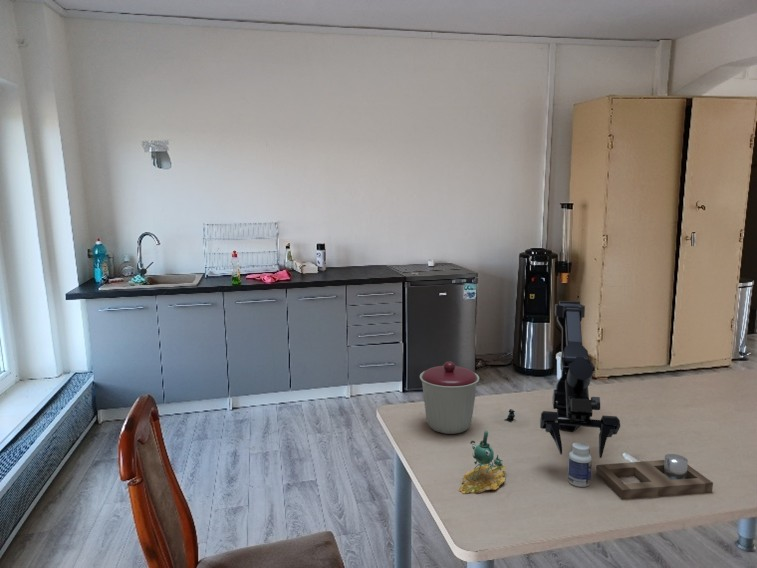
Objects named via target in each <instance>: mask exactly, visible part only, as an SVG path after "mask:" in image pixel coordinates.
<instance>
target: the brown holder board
mask: <svg viewBox="0 0 757 568" xmlns="http://www.w3.org/2000/svg"><path fill="white" fill-rule="evenodd" d="M664 461H665V459H660V460H658V459H657V460H645V461H632V462H631V461H630V462H629V461H628V462H617V463H604V464H596V465H595V475H596V476H597V477H598V478H599V479H600V480H601V481H602V482H603V483H604V484H605V485H606V486H607V487H608V488H609V489H610V490H611V491H612V492H614V494H615V495H616V496H617V497H618V498H619V499H621V500H623V501H624V500H636V499H645V498H648V499H649V498H661V497H670V496H672V497H673V496H685V495H697V494H708V493H713V488H714V482H713V481H712V480H710V479H709V478H707V477H706V476H705V475H703V474H702V473H700V472H699V471H697V470H696V469H695V468H694V467H692V466H691V465H689V464H688V465H687V477H686V479H679V480H670V479H669V478H668V477H667V476H665V475H664ZM631 477H632V478H633V477H634V478H635V479H637V480H638V481H639V482H628V483H624V482H623V481H622V480H621V479H620V478H631Z"/></svg>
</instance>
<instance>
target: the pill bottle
mask: <svg viewBox="0 0 757 568" xmlns="http://www.w3.org/2000/svg"><path fill="white" fill-rule="evenodd" d="M592 458H593V457H592V455H591V454H590V446H589V444H587V443H586V442H582V441H581V442H580V441H579V442H578V441H577V442H576V441H575V442H573V443H572V446H571V451H570V452H569V453H568V462H567V463H568V464H567V465H568V467H567V469H568V470H567V481H568V482H569V484H571V485H573V486H575V487H579V488H583V487H588V486H590V485H591V481H592V467H593V466H592V462H593V459H592Z"/></svg>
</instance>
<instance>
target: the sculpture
mask: <svg viewBox="0 0 757 568" xmlns="http://www.w3.org/2000/svg"><path fill="white" fill-rule="evenodd" d="M515 412H516V411H515V410H514V409H512V408H511V409H509V410H508V414H507V418H505V419H504V421H506V422H509V423H514V422H515V421H517V420H516V419H515V417H516V415H515Z"/></svg>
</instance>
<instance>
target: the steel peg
mask: <svg viewBox="0 0 757 568" xmlns="http://www.w3.org/2000/svg"><path fill="white" fill-rule="evenodd" d="M664 460H665V461H664V475H665V476H667V477H668V478H669V479H670V480H679V479H686V477H687V465H689V464H688V462H689V461H688V458H686V457H685V456H682V455H679V454H677V453H676V454H675V453H666V454H665V455H664Z"/></svg>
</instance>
